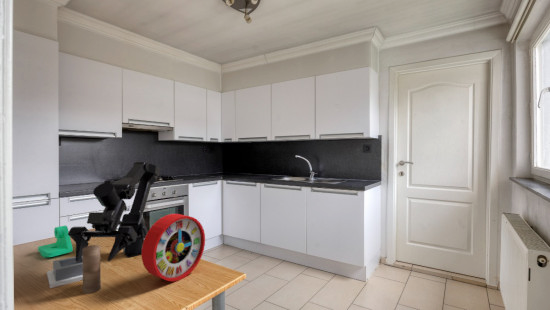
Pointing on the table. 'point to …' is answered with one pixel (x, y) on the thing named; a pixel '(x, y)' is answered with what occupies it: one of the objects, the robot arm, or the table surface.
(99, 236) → the robot arm
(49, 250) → the camera mount
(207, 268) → the table surface
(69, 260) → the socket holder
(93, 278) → the walnut peg
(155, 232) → the toy clock
